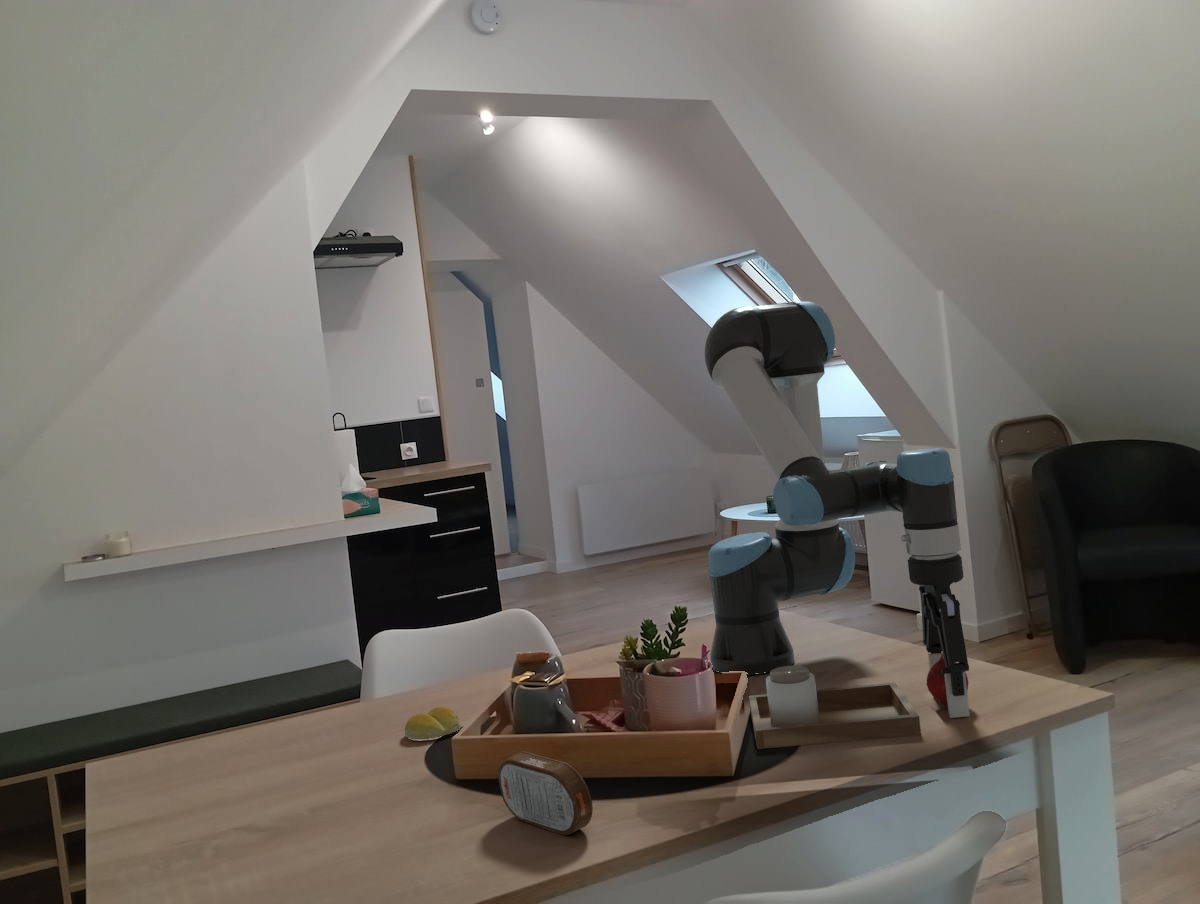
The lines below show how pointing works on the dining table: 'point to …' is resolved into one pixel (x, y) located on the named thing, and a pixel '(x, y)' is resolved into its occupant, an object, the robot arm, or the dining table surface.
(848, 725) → the wooden tray
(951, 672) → the robot arm
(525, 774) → the tin
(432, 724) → the yellow rounded lump
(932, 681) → the onion
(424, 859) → the dining table surface
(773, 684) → the jar
